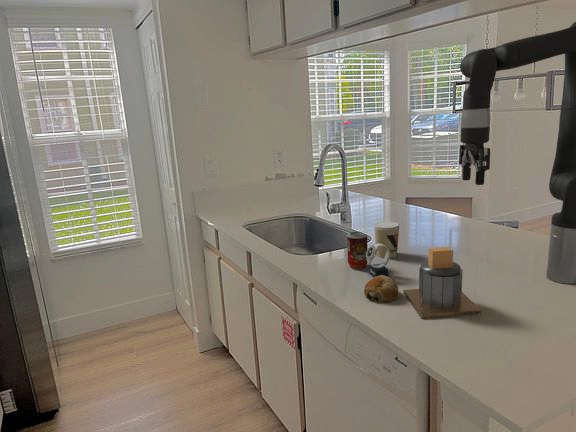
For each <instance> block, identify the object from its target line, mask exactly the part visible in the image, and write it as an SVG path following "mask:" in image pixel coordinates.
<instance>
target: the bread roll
mask: <svg viewBox="0 0 576 432" xmlns="http://www.w3.org/2000/svg"><path fill="white" fill-rule="evenodd" d="M363 290H364V291H363V292H364V293H363V294H364V296H365V297H366V298H367V299H368V300H370V301H371V302H376V303H389V302H392V301H394V300H396V299H398V297H399V294H400V293H399V287H398V284H397V283H396V282H395V281H394V279H392V278H391V277H389V276H388V277H387V276H384V275H380V276H376V277H374V278H373V277H372V278H371V279H369V281H368V282H366V284H365V286H364V289H363Z"/></svg>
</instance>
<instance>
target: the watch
mask: <svg viewBox="0 0 576 432" xmlns="http://www.w3.org/2000/svg"><path fill="white" fill-rule="evenodd" d="M380 246H383V247H385V248H386V250H387V252H386V255H385V258H382V259H383V260H382V261H381V263H377V264H376V263H375V264H372V262H373V260H374V259H375V258H376V257H377V255H376V254H377V250H378V248H379V247H380ZM390 256H391V255H390V250H389V249H388V248H387V247H386V246H385V245H383V244H379V243H378V244H375V243H374V244H372V245H370V246H368V247H367V252H366V259H367V264H368V267H369V269H368V270H369V271H368V273H369V275H370V276H371V277H372V278H374V277H376V276H380V275H384V276H387V277H389V269H388V268H387V267H386V266H387V265H388V264H389V261H390V259H391V258H390Z"/></svg>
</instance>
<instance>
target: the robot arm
mask: <svg viewBox="0 0 576 432" xmlns="http://www.w3.org/2000/svg"><path fill="white" fill-rule="evenodd" d="M561 55H564V79H563V87H562V99H561V104H560V111H559V112H560V113H559V124H558V133H557V142H556V149H555V156H554V161H553V165H552V168H551V169H552V170H551V174H550V179H549V185H548V189H549V193H550V195H551V196H552V197H553V198H554V199H555V200H558V201H561V202H562V205H561V210H560V212H555V213H553V214H552V216H551V222H550V223H551V224H550V233H549V242H548V243H549V245H548V252H547V265H546V278H547V279H549V280H550V281H553V282H557V283H560V284H567V285H568V284H569V285H571V284H572V285H573V284H576V21H574V22H573V23H572V24H571V25H570V26H569V27H567V28H563V29H560V30H557V31H552V32H547V33H542V34H537V35H533V36H532V35H531V36H529V37H524V38H520V39H517V40H512V41H509V42H506V43H503V44H500V45H498V46H495V47H491V48H490V47H489V48H481V49H478V50H475V51H471V52H469V53H467V54H466V55H465V56H464V57H463V58H462V60H461V61H460V64H459V69H460V72H461V74H462V75H463V76H464V77H466V78H468V79H469V83H468V87H467V88H466V89H464V91H463V95H462V112H461V119H460V137H459V138H460V140H459V141H460V143H461V145H459V153H458V154H459V155H458V156H459V157H458V165H459V166H461V168H462V173H461V174H462V175H461V176H462V177H461V179H462V181H470V180H471V178H472V177H471V175H472V166H474V170H475V180H474V181H475V182H474V183H475V185H476V186H481V185H482V186H484V184H485V176H486V175H485V173H486V172H487V171H488V170H489V171H490V168H491V148H490V147H485V145H484V144H485V143H488V142H489V141H490V129H491V128H490V127H491V109H490V108H491V94H492V89H493V87H494V82H495V80H496V79H495V78H496V75H497V74H496V73H497V72H499V71H507V70H513V69H516V68H521V67H524V66H528V65H531V64H535V63H537V62H540V61H541V62H542V61H544V60H547V59H551V58H554V57H557V56H561Z"/></svg>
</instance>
